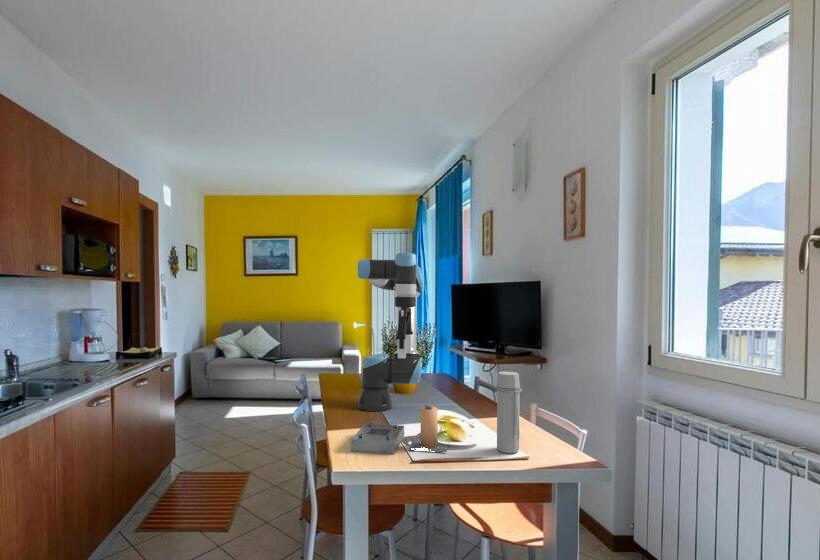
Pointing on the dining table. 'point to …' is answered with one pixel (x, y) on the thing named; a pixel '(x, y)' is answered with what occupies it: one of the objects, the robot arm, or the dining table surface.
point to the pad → (417, 444)
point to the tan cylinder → (429, 426)
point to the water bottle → (508, 412)
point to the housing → (377, 438)
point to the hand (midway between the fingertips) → (404, 355)
